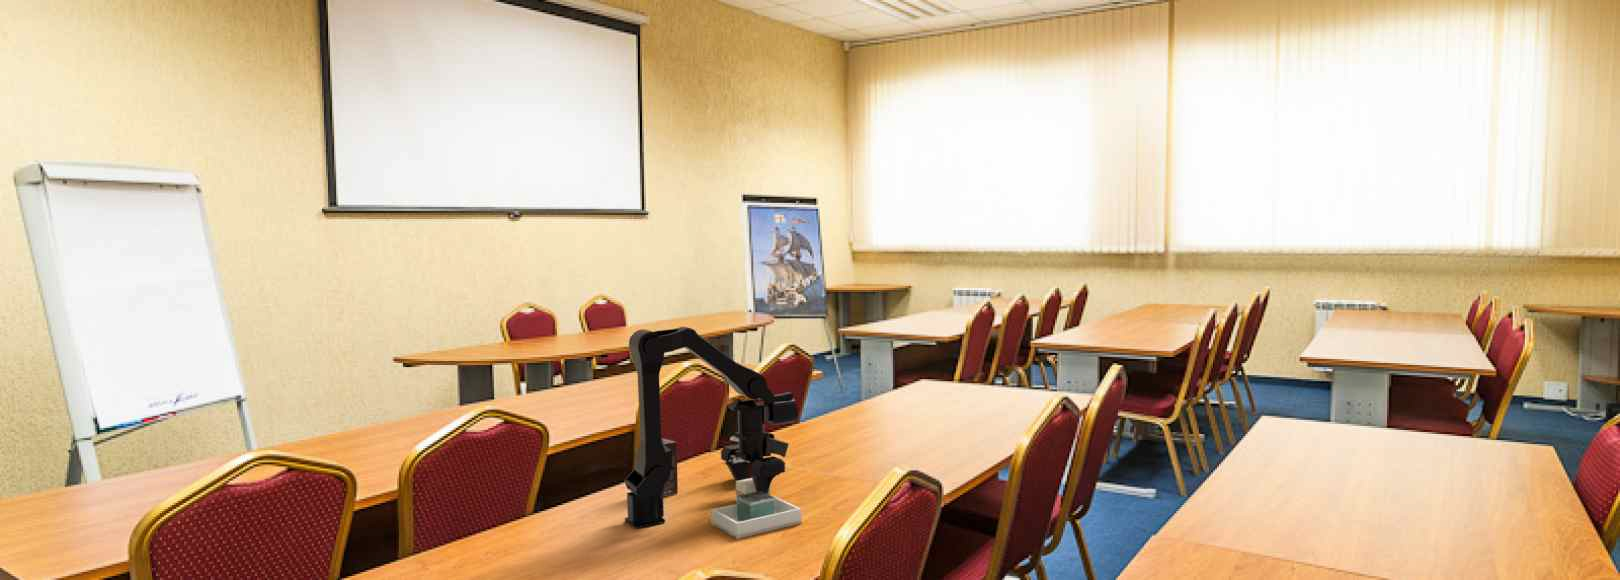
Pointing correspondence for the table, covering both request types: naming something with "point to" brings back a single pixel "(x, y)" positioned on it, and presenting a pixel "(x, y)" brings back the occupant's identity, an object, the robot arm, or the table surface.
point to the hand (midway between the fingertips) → (753, 497)
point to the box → (672, 483)
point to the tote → (756, 519)
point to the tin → (754, 505)
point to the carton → (746, 487)
